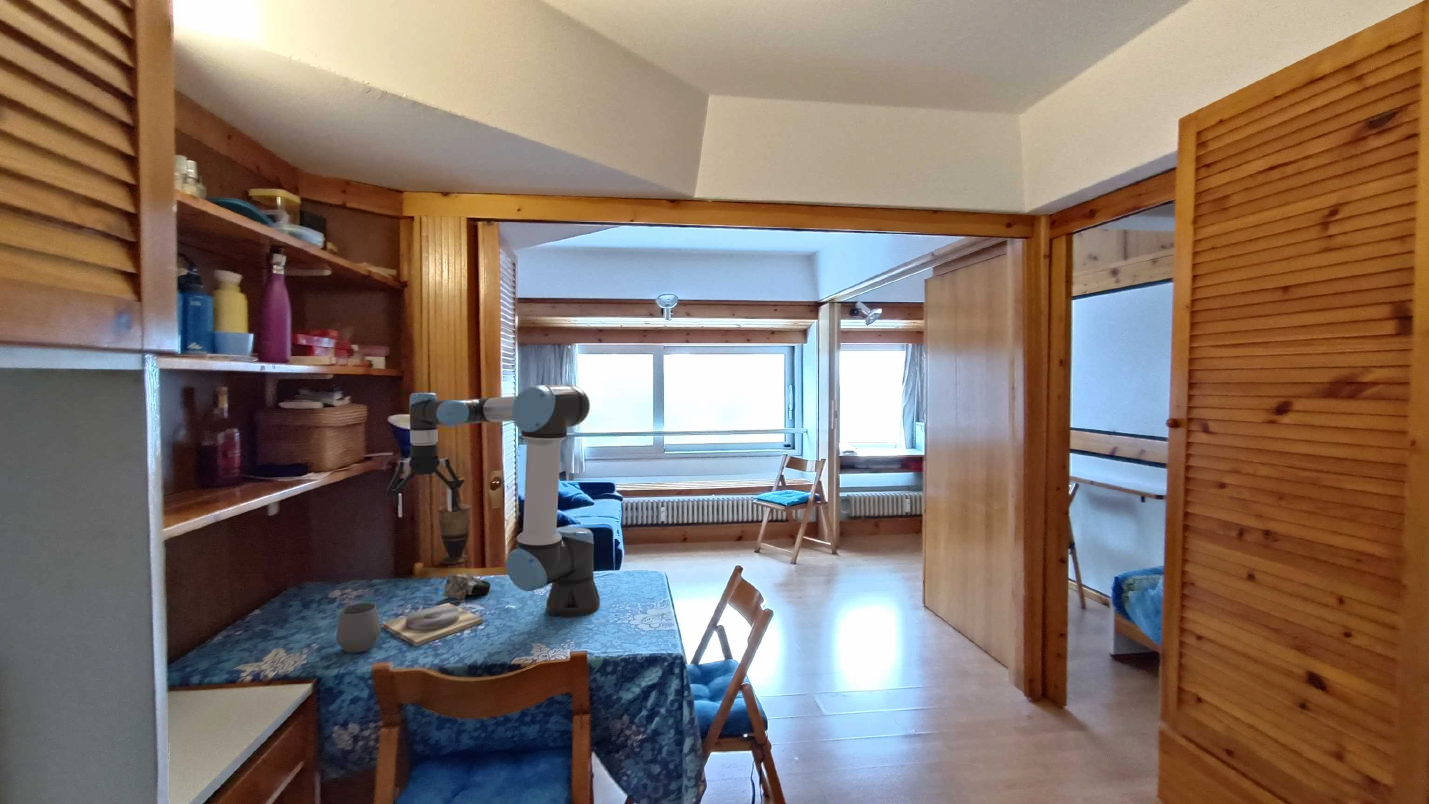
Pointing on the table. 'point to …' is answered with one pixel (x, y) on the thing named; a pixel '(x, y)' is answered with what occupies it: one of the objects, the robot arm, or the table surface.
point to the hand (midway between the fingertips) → (425, 513)
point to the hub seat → (432, 623)
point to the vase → (455, 528)
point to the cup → (358, 627)
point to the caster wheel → (464, 586)
